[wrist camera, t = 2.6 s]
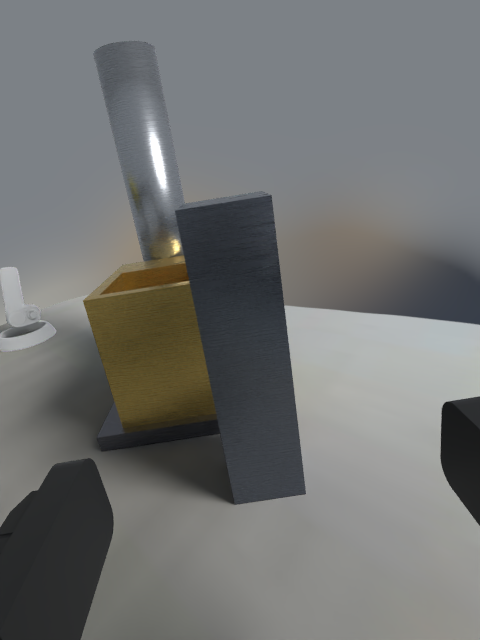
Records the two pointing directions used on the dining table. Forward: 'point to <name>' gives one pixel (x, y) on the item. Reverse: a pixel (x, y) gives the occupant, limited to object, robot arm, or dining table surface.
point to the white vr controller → (20, 316)
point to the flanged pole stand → (148, 273)
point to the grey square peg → (245, 340)
